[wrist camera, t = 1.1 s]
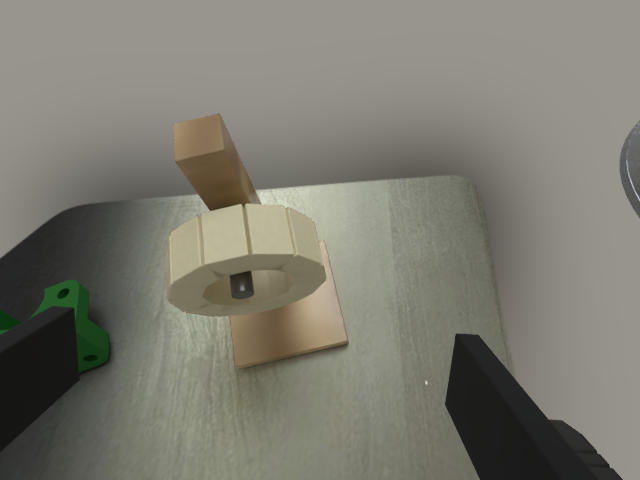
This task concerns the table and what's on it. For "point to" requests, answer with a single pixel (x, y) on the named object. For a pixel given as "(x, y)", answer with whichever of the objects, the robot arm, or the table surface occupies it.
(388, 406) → the table surface
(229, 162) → the hook stand
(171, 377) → the table surface
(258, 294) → the segmented ring
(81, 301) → the clamp
